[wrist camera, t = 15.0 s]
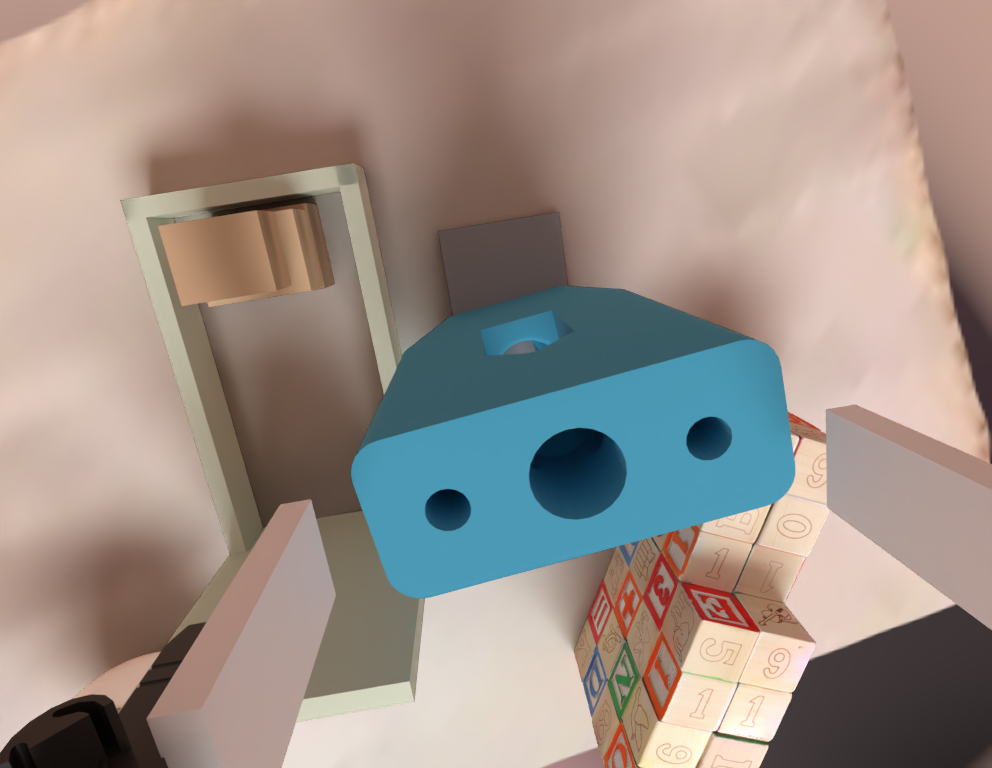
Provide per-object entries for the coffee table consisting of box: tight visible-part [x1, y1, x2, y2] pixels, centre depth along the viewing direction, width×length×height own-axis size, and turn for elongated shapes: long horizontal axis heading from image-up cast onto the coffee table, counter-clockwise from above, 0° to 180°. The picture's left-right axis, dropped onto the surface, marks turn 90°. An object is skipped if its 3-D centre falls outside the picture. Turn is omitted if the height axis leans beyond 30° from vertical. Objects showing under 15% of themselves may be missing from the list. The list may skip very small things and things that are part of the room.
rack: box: [118, 163, 425, 722], centre depth 28 cm, size 12×22×16 cm, turn 9°
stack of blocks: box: [574, 412, 830, 768], centre depth 34 cm, size 21×6×12 cm, turn 163°
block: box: [351, 286, 795, 598], centre depth 26 cm, size 12×5×20 cm, turn 105°
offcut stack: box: [158, 203, 335, 307], centre depth 30 cm, size 6×4×8 cm
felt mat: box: [438, 212, 568, 355], centre depth 36 cm, size 7×14×1 cm, turn 9°
